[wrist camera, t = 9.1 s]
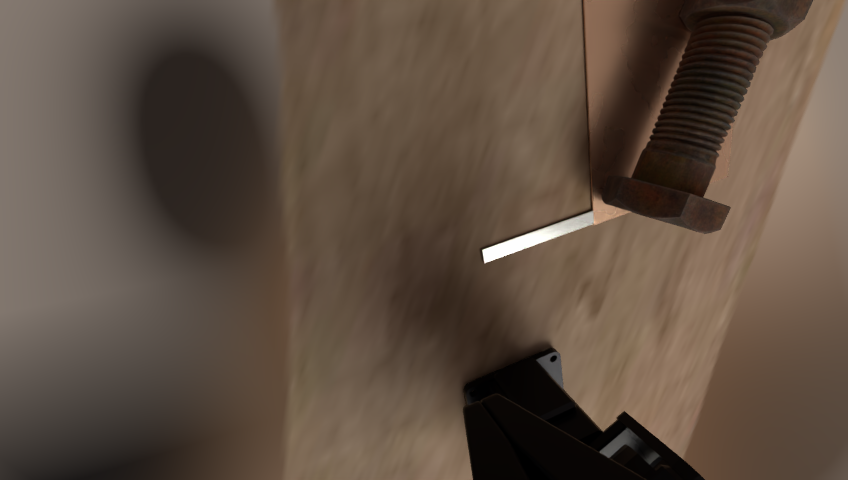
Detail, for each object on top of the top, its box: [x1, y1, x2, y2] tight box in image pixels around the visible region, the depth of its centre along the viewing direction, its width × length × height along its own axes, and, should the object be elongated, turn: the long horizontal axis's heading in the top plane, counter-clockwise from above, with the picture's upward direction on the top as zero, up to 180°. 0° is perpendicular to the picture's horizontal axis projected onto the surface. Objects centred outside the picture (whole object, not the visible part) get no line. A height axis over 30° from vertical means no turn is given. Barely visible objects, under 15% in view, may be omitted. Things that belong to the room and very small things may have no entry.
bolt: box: [601, 0, 813, 234], centre depth 20 cm, size 6×5×15 cm
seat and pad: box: [482, 0, 734, 263], centre depth 20 cm, size 19×17×1 cm
